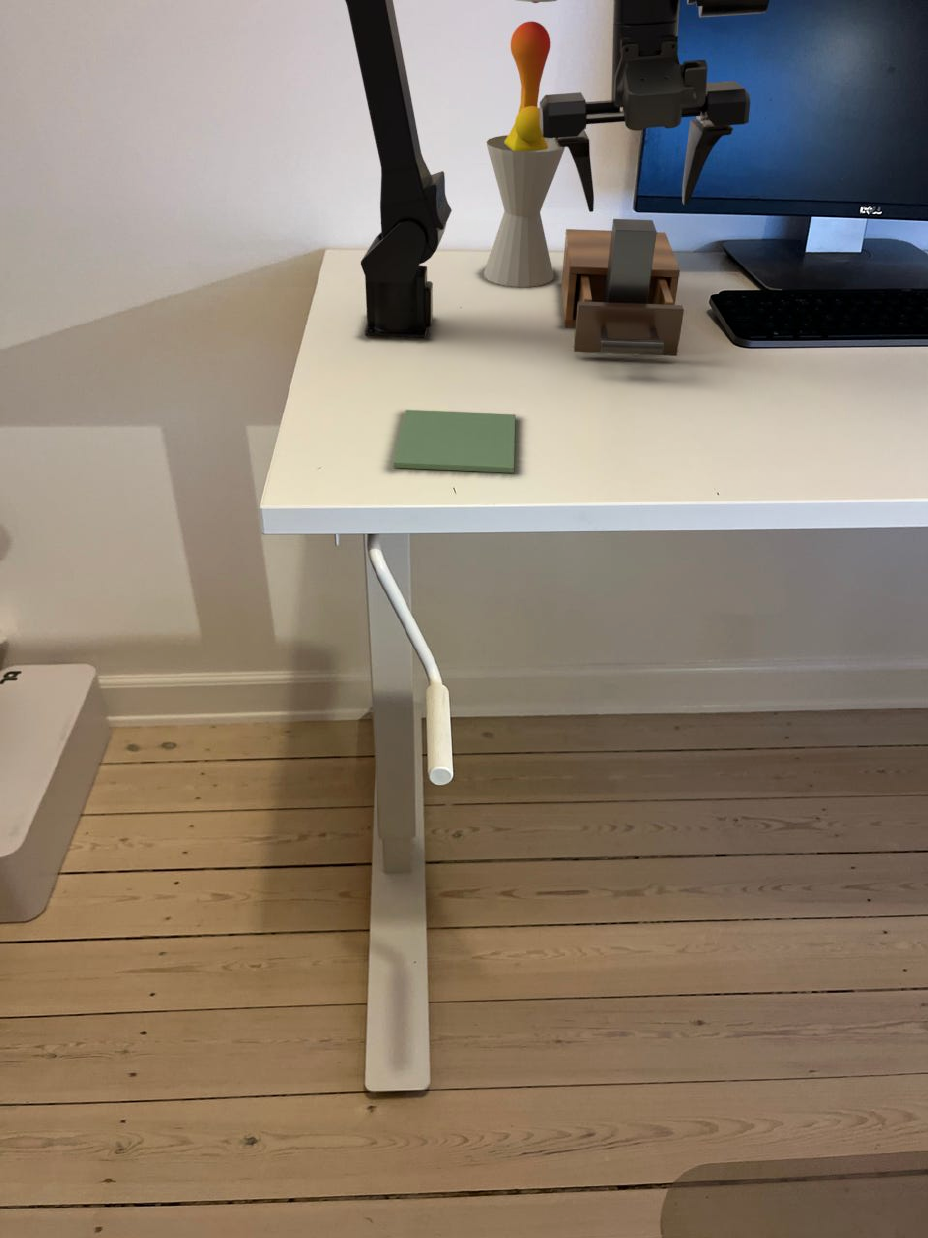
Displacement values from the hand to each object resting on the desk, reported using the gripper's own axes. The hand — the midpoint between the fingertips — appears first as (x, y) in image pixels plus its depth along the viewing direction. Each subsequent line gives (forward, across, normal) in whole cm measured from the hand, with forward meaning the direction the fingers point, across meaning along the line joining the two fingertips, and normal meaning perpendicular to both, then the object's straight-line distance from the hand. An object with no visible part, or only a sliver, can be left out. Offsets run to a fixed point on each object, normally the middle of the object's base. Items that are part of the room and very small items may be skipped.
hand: (637, 207), depth 94 cm
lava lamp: (+13, -11, +21) cm, 27 cm away
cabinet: (+14, -1, +10) cm, 17 cm away
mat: (+12, -18, -24) cm, 32 cm away
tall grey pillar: (+12, -1, 0) cm, 12 cm away
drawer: (+13, -1, -2) cm, 13 cm away
